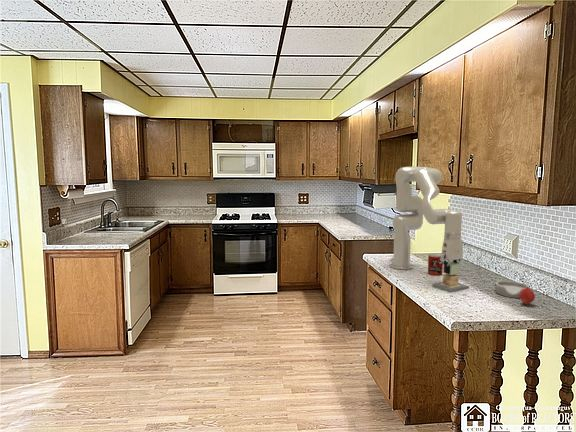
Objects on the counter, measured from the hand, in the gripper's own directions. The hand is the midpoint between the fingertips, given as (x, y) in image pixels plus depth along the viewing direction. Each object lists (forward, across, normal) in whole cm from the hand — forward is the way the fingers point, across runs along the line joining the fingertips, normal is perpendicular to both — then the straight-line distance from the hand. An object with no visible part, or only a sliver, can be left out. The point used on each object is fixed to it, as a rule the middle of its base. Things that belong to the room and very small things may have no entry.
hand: (450, 272), depth 196 cm
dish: (+8, +17, -21) cm, 28 cm away
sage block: (0, 0, 0) cm, 0 cm away
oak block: (+6, 0, 0) cm, 6 cm away
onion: (+8, +9, -33) cm, 35 cm away
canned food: (+8, +13, +21) cm, 26 cm away
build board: (+8, 0, 0) cm, 8 cm away
